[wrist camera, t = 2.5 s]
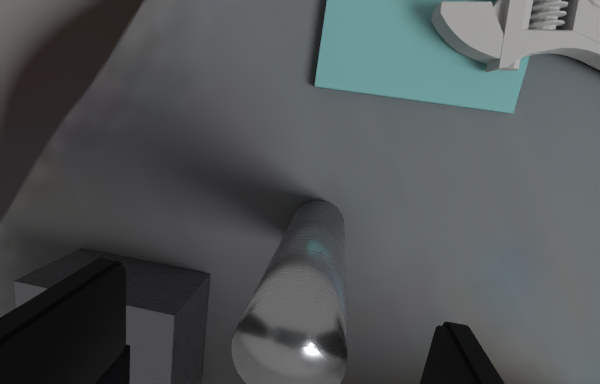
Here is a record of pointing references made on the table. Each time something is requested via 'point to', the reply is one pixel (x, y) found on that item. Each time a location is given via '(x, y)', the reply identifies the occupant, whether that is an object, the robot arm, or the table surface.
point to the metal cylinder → (298, 306)
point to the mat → (406, 57)
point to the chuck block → (144, 317)
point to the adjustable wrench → (521, 30)
